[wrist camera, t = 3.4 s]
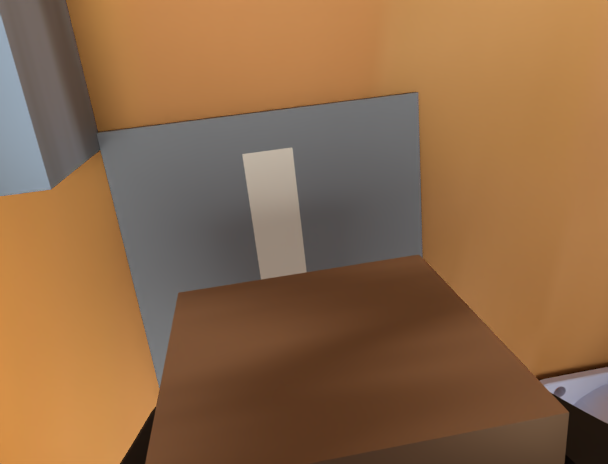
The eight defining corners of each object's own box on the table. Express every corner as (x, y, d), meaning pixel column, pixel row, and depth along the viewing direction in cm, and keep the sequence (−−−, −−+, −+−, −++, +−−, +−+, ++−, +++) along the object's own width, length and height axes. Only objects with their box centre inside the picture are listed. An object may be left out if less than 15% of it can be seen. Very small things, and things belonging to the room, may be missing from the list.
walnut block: (419, 254, 11) (569, 412, 6) (424, 442, 12) (544, 678, 8) (178, 292, 10) (138, 497, 6) (218, 482, 12) (214, 760, 7)
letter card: (415, 92, 16) (418, 92, 16) (423, 355, 20) (425, 358, 20) (97, 132, 15) (96, 133, 15) (164, 401, 19) (163, 405, 19)
